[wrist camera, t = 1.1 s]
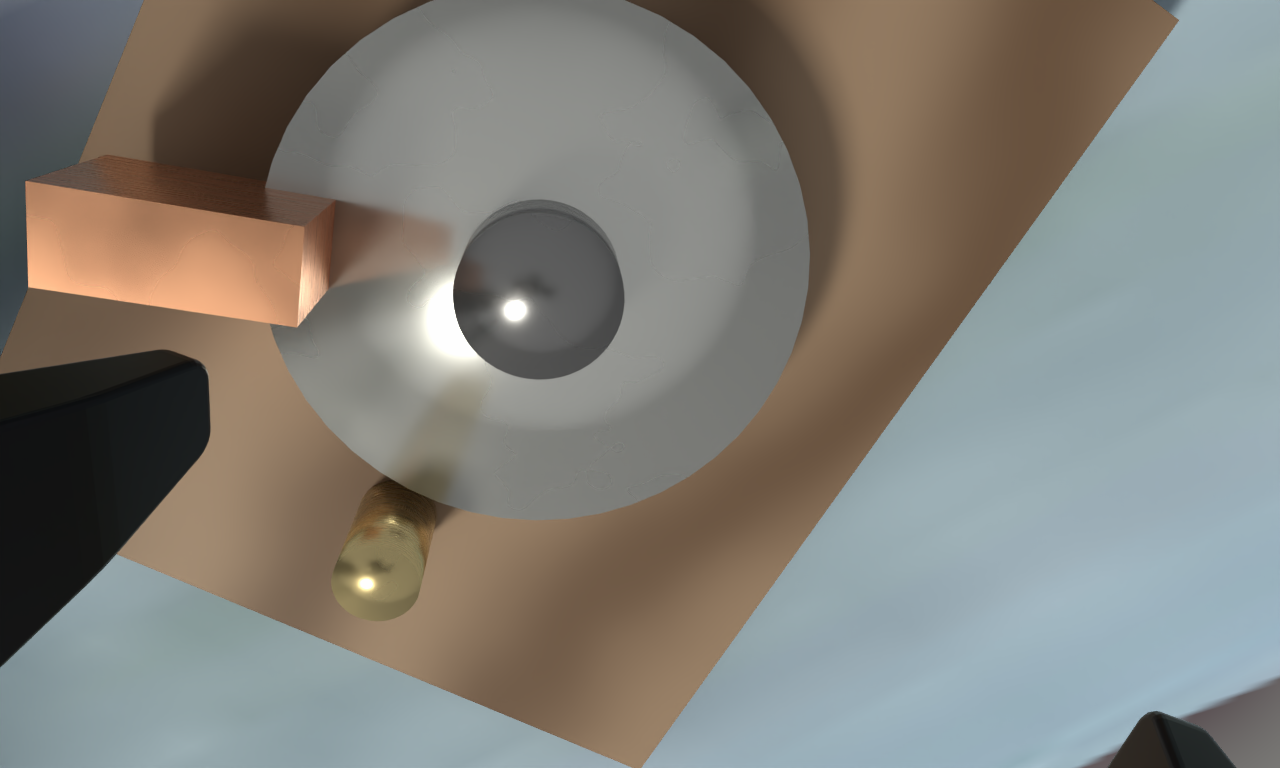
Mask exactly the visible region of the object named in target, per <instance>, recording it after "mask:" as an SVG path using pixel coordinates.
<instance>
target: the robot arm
mask: <svg viewBox="0 0 1280 768" xmlns="http://www.w3.org/2000/svg"><path fill="white" fill-rule="evenodd" d="M210 433H211V422H210V395H209V376H208V371H207V369H206V367H205V365H204V364H202V363H201V362H200V361H198V360H196V359H194V358H191V357H188V356H185V355H183V354H180V353H177V352H174V351H171V350H166V349H159V350H152V351H146V352H139V353H133V354H126V355H120V356H113V357H107V358H100V359H94V360H87V361H81V362H74V363H68V364H61V365H55V366H48V367H42V368H35V369H29V370H22V371H16V372H9V373H3V374H0V667H1V666H2V665H4V664H5V663H6V662H7V661H8V660H9V659H10V658H11V657H12V656H13V655H14V654H15V653H16V652H17V651H18V650H19V649H20V648H21V647H22V646H23V645H25V644H26V643H27V642H28V641H29V640H30V639H31V638H32V637H33V636H34V635H35V634H36V633H37V632H38V631H39V630H40V629H41V628H42V627H43V626H44V625H45V624H47V623H48V622H49V621H50V620H51V619H52V618H53V617H54V616H55V615H56V614H57V613H58V612H59V611H60V610H61V609H62V608H63V607H64V606H65V605H66V604H67V603H69V602H70V601H71V600H72V599H73V598H74V597H75V596H76V595H77V594H78V593H79V592H80V591H81V590H82V589H83V588H84V587H85V586H86V585H87V584H88V583H89V582H90V581H91V580H92V579H93V578H94V577H95V576H96V575H97V574H98V573H99V572H100V571H101V570H102V569H103V568H104V567H105V566H106V565H107V564H108V563H109V562H110V561H111V559H112V558H113V557H114V556H115V555H116V554H117V553H118V552H119V551H120V550H121V549H122V547H123V546H124V545H125V544H126V543H127V542H128V540H129V539H130V538H131V537H132V536H133V535H134V533H135V532H136V531H137V530H138V529H139V528H140V526H141V525H142V524H143V523H144V522H145V521H146V519H147V518H148V517H149V516H150V515H151V514H152V512H153V511H154V510H155V509H156V508H157V507H158V505H159V504H160V503H161V502H162V501H163V500H164V498H165V497H166V496H167V495H168V494H169V493H170V491H171V490H172V489H173V488H174V487H175V486H176V484H177V483H178V482H179V481H180V480H181V479H182V477H183V476H184V475H185V474H186V473H187V472H188V470H189V469H190V468H191V467H192V466H193V465H194V463H195V462H196V461H197V460H198V459H199V458H200V456H201V455H202V453H203V452H204V450H205V448H206V446H207V444H208V441H209V438H210ZM1108 768H1236V767H1235V765H1234V764H1233V763H1232V762H1231V760H1230V759H1229V758H1228V757H1227V756H1226V754H1225V753H1224V752H1223V750H1222V749H1221V748H1220V747H1219V746H1218V744H1217V743H1216V742H1215V741H1214V739H1213V738H1212V737H1211V736H1210V735H1209V734H1208V733H1207V731H1206V730H1204V729H1203V728H1201V727H1199V726H1197V725H1195V724H1192V723H1190V722H1187V721H1184V720H1181V719H1179V718H1176V717H1173V716H1170V715H1168V714H1165V713H1162V712H1159V711H1154V712H1148V713H1147V714H1145V715H1144V716H1143V717H1142V718H1141V719H1140V720H1139V721H1138V723H1137V724H1136V726H1135V727H1134V729H1133V730H1132V732H1131V733H1130V735H1129V736H1128V738H1127V739H1126V741H1125V742H1124V744H1123V745H1122V747H1121V748H1120V750H1119V751H1118V753H1117V754H1116V756H1115V757H1114V759H1113V760H1112V762H1111V763H1110V765H1109V766H1108Z"/></svg>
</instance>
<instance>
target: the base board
mask: <svg viewBox="0 0 1280 768" xmlns="http://www.w3.org/2000/svg"><path fill="white" fill-rule="evenodd" d="M430 1H433V0H144V1H143V4H142V6H141V9H140V11H139V14H138V16H137V19H136V21H135V24H134V26H133V29H132V31H131V34H130V36H129V39H128V41H127V44H126V46H125V49H124V51H123V54H122V56H121V59H120V61H119V64H118V66H117V68H116V71H115V73H114V76H113V78H112V81H111V83H110V86H109V88H108V91H107V93H106V96H105V98H104V101H103V103H102V106H101V108H100V111H99V113H98V116H97V118H96V121H95V123H94V126H93V128H92V131H91V133H90V136H89V138H88V141H87V143H86V146H85V148H84V151H83V153H82V156H81V158H80V160H79V163H82V162H85V161H88V160H91V159H95V158H98V157H101V156H104V155H107V154H109V155H115V156H121V157H127V158H132V159H138V160H144V161H150V162H156V163H162V164H168V165H174V166H180V167H185V168H191V169H197V170H203V171H209V172H215V173H221V174H227V175H233V176H238V177H244V178H250V179H256V180H262V181H267V178H268V175H269V171H270V167H271V164H272V161H273V158H274V156H275V154H276V151H277V149H278V147H279V144H280V142H281V140H282V138H283V135H284V133H285V131H286V128H287V126H288V125H289V123H290V121H291V120H292V118H293V117H294V115H295V113H296V112H297V110H298V109H299V107H300V105H301V104H302V102H303V100H304V99H305V97H306V96H307V94H308V93H309V92H310V91H311V89H312V88H313V87H314V86H315V85H316V84H317V82H318V81H319V80H320V79H321V78H322V76H323V75H324V74H325V73H326V72H327V70H328V69H329V68H330V67H331V66H332V65H333V64H334V63H335V62H336V61H337V60H338V59H340V58H341V57H342V56H343V55H344V54H345V53H346V52H347V51H349V50H350V49H351V48H352V47H353V46H354V45H355V44H356V43H358V42H359V41H360V40H361V39H363V38H364V37H366V36H367V35H369V34H370V33H372V32H373V31H375V30H376V29H378V28H379V27H381V26H382V25H384V24H386V23H387V22H389V21H390V20H392V19H393V18H395V17H397V16H400V15H402V14H404V13H406V12H408V11H410V10H412V9H415V8H417V7H419V6H421V5H423V4H425V3H428V2H430ZM626 1H628V2H630V3H633V4H635V5H637V6H639V7H642V8H644V9H646V10H649V11H651V12H653V13H656V14H658V15H660V16H662V17H664V18H665V19H667V20H668V21H670V22H672V23H673V24H675V25H677V26H678V27H680V28H682V29H683V30H685V31H686V32H688V33H690V34H691V35H693V36H694V37H696V38H697V39H698V40H699V41H701V42H702V43H703V44H704V45H706V46H707V47H708V48H709V49H710V50H712V51H713V52H714V53H715V54H717V55H718V56H719V57H720V58H721V59H723V60H724V61H725V62H726V63H727V64H728V65H729V67H730V68H731V69H732V70H733V71H734V72H735V73H736V74H737V75H738V76H739V77H740V78H741V79H742V81H743V82H744V83H745V84H746V85H747V86H748V87H749V88H750V89H751V91H752V92H753V94H754V95H755V97H756V98H757V99H758V101H759V102H760V104H761V105H762V106H763V108H764V109H765V111H766V112H767V114H768V115H769V116H770V118H771V120H772V121H773V123H774V125H775V127H776V129H777V131H778V133H779V135H780V137H781V139H782V141H783V143H784V145H785V146H786V148H787V150H788V153H789V156H790V158H791V161H792V164H793V167H794V170H795V172H796V175H797V178H798V181H799V184H800V187H801V192H802V197H803V201H804V206H805V211H806V215H807V221H808V234H809V247H810V263H809V281H808V291H807V297H806V302H805V307H804V313H803V318H802V322H801V326H800V329H799V332H798V335H797V338H796V341H795V344H794V347H793V350H792V353H791V355H790V357H789V359H788V361H787V364H786V366H785V368H784V370H783V372H782V374H781V376H780V378H779V380H778V382H777V384H776V386H775V387H774V389H773V390H772V392H771V393H770V395H769V397H768V398H767V400H766V401H765V403H764V404H763V406H762V408H761V409H760V411H759V412H758V413H757V414H756V415H755V417H754V418H753V419H752V420H751V421H750V423H749V424H748V425H747V426H746V427H745V429H744V430H743V431H742V432H741V433H740V435H739V436H738V437H737V438H735V439H734V440H733V441H732V442H731V443H730V444H729V445H728V446H727V447H726V448H725V449H724V450H723V451H722V452H721V453H719V454H718V455H717V456H716V457H715V458H714V459H712V460H711V461H710V462H708V463H707V464H706V465H704V466H703V467H702V468H700V469H699V470H697V471H696V472H695V473H693V474H692V475H691V476H689V477H687V478H686V479H684V480H682V481H680V482H679V483H677V484H675V485H673V486H671V487H670V488H668V489H666V490H664V491H663V492H661V493H658V494H656V495H653V496H651V497H649V498H646V499H644V500H641V501H639V502H637V503H634V504H632V505H629V506H625V507H622V508H618V509H615V510H611V511H608V512H604V513H601V514H595V515H589V516H582V517H576V518H570V519H553V520H524V519H509V518H500V517H494V516H489V515H484V514H478V513H473V512H469V511H465V510H462V509H459V508H456V507H453V506H449V505H446V504H443V503H440V502H437V501H435V500H433V501H434V504H435V506H436V511H437V520H436V525H435V529H434V533H433V537H432V542H431V546H430V550H429V554H428V558H427V563H426V567H425V571H424V575H423V580H422V584H421V588H420V592H419V596H418V598H417V600H416V602H415V603H414V605H413V606H412V607H411V608H410V609H409V610H408V611H407V612H406V613H404V614H403V615H401V616H399V617H397V618H394V619H391V620H386V621H369V620H364V619H361V618H358V617H356V616H354V615H352V614H350V613H349V612H347V611H346V610H345V609H344V608H343V607H342V606H341V605H340V604H339V603H338V601H337V600H336V598H335V596H334V594H333V591H332V586H331V578H332V573H333V570H334V568H335V565H336V563H337V560H338V558H339V555H340V553H341V550H342V548H343V545H344V543H345V540H346V538H347V535H348V533H349V530H350V528H351V525H352V523H353V520H354V518H355V515H356V513H357V510H358V508H359V505H360V503H361V500H362V498H363V497H364V495H365V494H366V492H367V491H368V490H369V489H371V488H372V487H373V486H375V485H377V484H379V483H381V482H384V481H389V480H393V479H391V478H389V477H387V476H386V475H384V474H382V473H381V472H379V471H378V470H376V469H375V468H374V467H372V466H371V465H370V464H369V463H367V462H366V461H365V460H363V459H362V458H361V457H359V456H358V455H357V454H356V453H354V452H353V451H352V450H351V449H350V448H349V447H348V446H347V445H346V444H345V443H344V442H343V441H341V440H340V439H339V438H338V437H337V436H336V435H335V434H334V433H333V432H332V431H331V430H330V429H329V428H328V427H327V425H326V424H325V423H324V422H323V420H322V419H321V418H320V417H319V415H318V414H317V413H316V412H315V410H314V409H313V408H312V407H311V405H310V404H309V403H308V402H307V400H306V399H305V397H304V396H303V394H302V392H301V391H300V389H299V387H298V386H297V384H296V382H295V381H294V379H293V377H292V376H291V374H290V373H289V371H288V369H287V367H286V364H285V362H284V360H283V358H282V355H281V353H280V351H279V349H278V346H277V344H276V342H275V340H274V337H273V333H272V330H271V327H270V323H264V322H258V321H251V320H244V319H238V318H231V317H224V316H218V315H211V314H204V313H198V312H191V311H184V310H178V309H171V308H164V307H158V306H151V305H144V304H138V303H131V302H124V301H118V300H111V299H104V298H98V297H91V296H84V295H78V294H71V293H64V292H58V291H51V290H45V289H38V288H31V287H28V290H27V292H26V295H25V297H24V300H23V302H22V305H21V307H20V310H19V312H18V315H17V317H16V320H15V322H14V325H13V327H12V330H11V332H10V335H9V337H8V339H7V342H6V344H5V347H4V349H3V352H2V354H1V357H0V374H3V373H9V372H16V371H22V370H29V369H35V368H42V367H48V366H55V365H61V364H68V363H74V362H81V361H87V360H94V359H100V358H107V357H113V356H120V355H126V354H133V353H139V352H146V351H152V350H159V349H166V350H171V351H174V352H177V353H180V354H183V355H185V356H188V357H191V358H194V359H196V360H198V361H200V362H201V363H202V364H204V365H205V367H206V369H207V371H208V376H209V395H210V422H211V433H210V438H209V441H208V444H207V446H206V448H205V450H204V452H203V453H202V455H201V456H200V458H199V459H198V460H197V461H196V462H195V463H194V465H193V466H192V467H191V468H190V469H189V470H188V472H187V473H186V474H185V475H184V476H183V477H182V479H181V480H180V481H179V482H178V483H177V484H176V486H175V487H174V488H173V489H172V490H171V491H170V493H169V494H168V495H167V496H166V497H165V498H164V500H163V501H162V502H161V503H160V504H159V505H158V507H157V508H156V509H155V510H154V511H153V512H152V514H151V515H150V516H149V517H148V518H147V519H146V521H145V522H144V523H143V524H142V525H141V526H140V528H139V529H138V530H137V531H136V532H135V533H134V535H133V536H132V537H131V538H130V539H129V540H128V542H127V543H126V544H125V545H124V546H123V547H122V549H121V550H120V551H119V552H118V553H117V554H118V555H120V556H123V557H125V558H127V559H130V560H132V561H135V562H137V563H139V564H142V565H144V566H147V567H149V568H152V569H154V570H156V571H159V572H161V573H164V574H166V575H168V576H171V577H173V578H176V579H178V580H181V581H183V582H185V583H188V584H190V585H193V586H195V587H197V588H200V589H202V590H205V591H207V592H210V593H212V594H214V595H217V596H219V597H222V598H224V599H226V600H229V601H231V602H234V603H236V604H239V605H241V606H243V607H246V608H248V609H251V610H253V611H255V612H258V613H260V614H263V615H265V616H268V617H270V618H272V619H275V620H277V621H280V622H282V623H284V624H287V625H289V626H292V627H294V628H297V629H299V630H301V631H304V632H306V633H309V634H311V635H313V636H316V637H318V638H321V639H323V640H325V641H328V642H330V643H333V644H335V645H338V646H340V647H342V648H345V649H347V650H350V651H352V652H354V653H357V654H359V655H362V656H364V657H367V658H369V659H371V660H374V661H376V662H379V663H381V664H383V665H386V666H388V667H391V668H393V669H396V670H398V671H400V672H403V673H405V674H408V675H410V676H412V677H415V678H417V679H420V680H422V681H425V682H427V683H429V684H432V685H434V686H437V687H439V688H441V689H444V690H446V691H449V692H451V693H454V694H456V695H458V696H461V697H463V698H466V699H468V700H470V701H473V702H475V703H478V704H480V705H483V706H485V707H487V708H490V709H492V710H495V711H497V712H499V713H502V714H504V715H507V716H509V717H512V718H514V719H516V720H519V721H521V722H524V723H526V724H528V725H531V726H533V727H536V728H538V729H540V730H543V731H545V732H548V733H550V734H553V735H555V736H557V737H560V738H562V739H565V740H567V741H569V742H572V743H574V744H577V745H579V746H582V747H584V748H586V749H589V750H591V751H594V752H596V753H598V754H601V755H603V756H606V757H608V758H611V759H613V760H615V761H618V762H620V763H623V764H625V765H627V766H630V767H632V768H641V767H642V766H643V765H644V763H645V762H646V760H647V759H648V758H649V756H650V755H651V753H652V752H653V751H654V749H655V748H656V747H657V745H658V744H659V742H660V741H661V740H662V738H663V737H664V735H665V734H666V733H667V731H668V730H669V728H670V727H671V726H672V724H673V723H674V722H675V720H676V719H677V717H678V716H679V715H680V713H681V712H682V710H683V709H684V708H685V706H686V705H687V703H688V702H689V701H690V699H691V698H692V696H693V695H694V694H695V692H696V691H697V690H698V688H699V687H700V685H701V684H702V683H703V681H704V680H705V678H706V677H707V676H708V674H709V673H710V671H711V670H712V669H713V667H714V666H715V665H716V663H717V662H718V660H719V659H720V658H721V656H722V655H723V653H724V652H725V651H726V649H727V648H728V646H729V645H730V644H731V642H732V641H733V640H734V638H735V637H736V635H737V634H738V633H739V631H740V630H741V628H742V627H743V626H744V624H745V623H746V621H747V620H748V619H749V617H750V616H751V614H752V613H753V612H754V610H755V609H756V608H757V606H758V605H759V603H760V602H761V601H762V599H763V598H764V596H765V595H766V594H767V592H768V591H769V589H770V588H771V587H772V585H773V584H774V583H775V581H776V580H777V578H778V577H779V576H780V574H781V573H782V571H783V570H784V569H785V567H786V566H787V564H788V563H789V562H790V560H791V559H792V558H793V556H794V555H795V553H796V552H797V551H798V549H799V548H800V546H801V545H802V544H803V542H804V541H805V539H806V538H807V537H808V535H809V534H810V533H811V531H812V530H813V528H814V527H815V526H816V524H817V523H818V521H819V520H820V519H821V517H822V516H823V514H824V513H825V512H826V510H827V509H828V507H829V506H830V505H831V503H832V502H833V501H834V499H835V498H836V496H837V495H838V494H839V492H840V491H841V489H842V488H843V487H844V485H845V484H846V482H847V481H848V480H849V478H850V477H851V476H852V474H853V473H854V471H855V470H856V469H857V467H858V466H859V464H860V463H861V462H862V460H863V459H864V457H865V456H866V455H867V453H868V452H869V451H870V449H871V448H872V446H873V445H874V444H875V442H876V441H877V439H878V438H879V437H880V435H881V434H882V432H883V431H884V430H885V428H886V427H887V425H888V424H889V423H890V421H891V420H892V419H893V417H894V416H895V414H896V413H897V412H898V410H899V409H900V407H901V406H902V405H903V403H904V402H905V400H906V399H907V398H908V396H909V395H910V394H911V392H912V391H913V389H914V388H915V387H916V385H917V384H918V382H919V381H920V380H921V378H922V377H923V375H924V374H925V373H926V371H927V370H928V369H929V367H930V366H931V364H932V363H933V362H934V360H935V359H936V357H937V356H938V355H939V353H940V352H941V350H942V349H943V348H944V346H945V345H946V344H947V342H948V341H949V339H950V338H951V337H952V335H953V334H954V332H955V331H956V330H957V328H958V327H959V325H960V324H961V323H962V321H963V320H964V318H965V317H966V316H967V314H968V313H969V312H970V310H971V309H972V307H973V306H974V305H975V303H976V302H977V300H978V299H979V298H980V296H981V295H982V293H983V292H984V291H985V289H986V288H987V287H988V285H989V284H990V282H991V281H992V280H993V278H994V277H995V275H996V274H997V273H998V271H999V270H1000V268H1001V267H1002V266H1003V264H1004V263H1005V262H1006V260H1007V259H1008V257H1009V256H1010V255H1011V253H1012V252H1013V250H1014V249H1015V248H1016V246H1017V245H1018V243H1019V242H1020V241H1021V239H1022V238H1023V236H1024V235H1025V234H1026V232H1027V231H1028V230H1029V228H1030V227H1031V225H1032V224H1033V223H1034V221H1035V220H1036V218H1037V217H1038V216H1039V214H1040V213H1041V211H1042V210H1043V209H1044V207H1045V206H1046V205H1047V203H1048V202H1049V200H1050V199H1051V198H1052V196H1053V195H1054V193H1055V192H1056V191H1057V189H1058V188H1059V186H1060V185H1061V184H1062V182H1063V181H1064V180H1065V178H1066V177H1067V175H1068V174H1069V173H1070V171H1071V170H1072V168H1073V167H1074V166H1075V164H1076V163H1077V161H1078V160H1079V159H1080V157H1081V156H1082V155H1083V153H1084V152H1085V150H1086V149H1087V148H1088V146H1089V145H1090V143H1091V142H1092V141H1093V139H1094V138H1095V136H1096V135H1097V134H1098V132H1099V131H1100V129H1101V128H1102V127H1103V125H1104V124H1105V123H1106V121H1107V120H1108V118H1109V117H1110V116H1111V114H1112V113H1113V111H1114V110H1115V109H1116V107H1117V106H1118V104H1119V103H1120V102H1121V100H1122V99H1123V98H1124V96H1125V95H1126V93H1127V92H1128V91H1129V89H1130V88H1131V86H1132V85H1133V84H1134V82H1135V81H1136V79H1137V78H1138V77H1139V75H1140V74H1141V73H1142V71H1143V70H1144V68H1145V67H1146V66H1147V64H1148V63H1149V61H1150V60H1151V59H1152V57H1153V56H1154V54H1155V53H1156V52H1157V50H1158V49H1159V47H1160V46H1161V45H1162V43H1163V42H1164V41H1165V39H1166V38H1167V36H1168V35H1169V34H1170V32H1171V31H1172V29H1173V28H1174V27H1175V25H1176V24H1177V22H1178V21H1179V20H1178V19H1177V18H1175V17H1174V16H1173V15H1171V14H1170V13H1169V12H1167V11H1166V10H1165V9H1163V8H1162V7H1161V6H1160V5H1158V4H1157V3H1156V2H1154V1H1153V0H626ZM79 163H78V164H79Z"/></svg>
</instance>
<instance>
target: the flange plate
mask: <svg viewBox="0 0 1280 768" xmlns="http://www.w3.org/2000/svg"><path fill="white" fill-rule="evenodd" d="M25 187H26V222H27V257H28V287H31V288H38V289H45V290H51V291H58V292H64V293H71V294H78V295H84V296H91V297H98V298H104V299H111V300H118V301H124V302H131V303H138V304H144V305H151V306H158V307H164V308H171V309H178V310H184V311H191V312H198V313H204V314H211V315H218V316H224V317H231V318H238V319H244V320H251V321H258V322H264V323H270V327H271V330H272V333H273V337H274V340H275V342H276V344H277V346H278V349H279V351H280V353H281V355H282V358H283V360H284V362H285V364H286V367H287V369H288V371H289V373H290V374H291V376H292V377H293V379H294V381H295V382H296V384H297V386H298V387H299V389H300V391H301V392H302V394H303V396H304V397H305V399H306V400H307V402H308V403H309V404H310V405H311V407H312V408H313V409H314V410H315V412H316V413H317V414H318V415H319V417H320V418H321V419H322V420H323V422H324V423H325V424H326V425H327V427H328V428H329V429H330V430H331V431H332V432H333V433H334V434H335V435H336V436H337V437H338V438H339V439H340V440H341V441H343V442H344V443H345V444H346V445H347V446H348V447H349V448H350V449H351V450H352V451H353V452H354V453H356V454H357V455H358V456H359V457H361V458H362V459H363V460H365V461H366V462H367V463H369V464H370V465H371V466H372V467H374V468H375V469H376V470H378V471H379V472H381V473H382V474H384V475H386V476H387V477H389V478H391V479H393V480H394V481H396V482H398V483H399V484H401V485H403V486H404V487H406V488H408V489H410V490H412V491H414V492H417V493H419V494H421V495H423V496H426V497H428V498H430V499H433V500H435V501H437V502H440V503H443V504H446V505H449V506H453V507H456V508H459V509H462V510H465V511H469V512H473V513H478V514H484V515H489V516H494V517H500V518H509V519H524V520H553V519H570V518H576V517H582V516H589V515H595V514H601V513H604V512H608V511H611V510H615V509H618V508H622V507H625V506H629V505H632V504H634V503H637V502H639V501H641V500H644V499H646V498H649V497H651V496H653V495H656V494H658V493H661V492H663V491H664V490H666V489H668V488H670V487H671V486H673V485H675V484H677V483H679V482H680V481H682V480H684V479H686V478H687V477H689V476H691V475H692V474H693V473H695V472H696V471H697V470H699V469H700V468H702V467H703V466H704V465H706V464H707V463H708V462H710V461H711V460H712V459H714V458H715V457H716V456H717V455H718V454H719V453H721V452H722V451H723V450H724V449H725V448H726V447H727V446H728V445H729V444H730V443H731V442H732V441H733V440H734V439H735V438H737V437H738V436H739V435H740V433H741V432H742V431H743V430H744V429H745V427H746V426H747V425H748V424H749V423H750V421H751V420H752V419H753V418H754V417H755V415H756V414H757V413H758V412H759V411H760V409H761V408H762V406H763V404H764V403H765V401H766V400H767V398H768V397H769V395H770V393H771V392H772V390H773V389H774V387H775V386H776V384H777V382H778V380H779V378H780V376H781V374H782V372H783V370H784V368H785V366H786V364H787V361H788V359H789V357H790V355H791V353H792V350H793V347H794V344H795V341H796V338H797V335H798V332H799V329H800V326H801V322H802V318H803V313H804V307H805V302H806V297H807V291H808V281H809V263H810V247H809V234H808V221H807V215H806V211H805V206H804V201H803V197H802V192H801V187H800V184H799V181H798V178H797V175H796V172H795V170H794V167H793V164H792V161H791V158H790V156H789V153H788V150H787V148H786V146H785V145H784V143H783V141H782V139H781V137H780V135H779V133H778V131H777V129H776V127H775V125H774V123H773V121H772V120H771V118H770V116H769V115H768V114H767V112H766V111H765V109H764V108H763V106H762V105H761V104H760V102H759V101H758V99H757V98H756V97H755V95H754V94H753V92H752V91H751V89H750V88H749V87H748V86H747V85H746V84H745V83H744V82H743V81H742V79H741V78H740V77H739V76H738V75H737V74H736V73H735V72H734V71H733V70H732V69H731V68H730V67H729V65H728V64H727V63H726V62H725V61H724V60H723V59H721V58H720V57H719V56H718V55H717V54H715V53H714V52H713V51H712V50H710V49H709V48H708V47H707V46H706V45H704V44H703V43H702V42H701V41H699V40H698V39H697V38H696V37H694V36H693V35H691V34H690V33H688V32H686V31H685V30H683V29H682V28H680V27H678V26H677V25H675V24H673V23H672V22H670V21H668V20H667V19H665V18H664V17H662V16H660V15H658V14H656V13H653V12H651V11H649V10H646V9H644V8H642V7H639V6H637V5H635V4H633V3H630V2H628V1H626V0H433V1H430V2H428V3H425V4H423V5H421V6H419V7H417V8H415V9H412V10H410V11H408V12H406V13H404V14H402V15H400V16H397V17H395V18H393V19H392V20H390V21H389V22H387V23H386V24H384V25H382V26H381V27H379V28H378V29H376V30H375V31H373V32H372V33H370V34H369V35H367V36H366V37H364V38H363V39H361V40H360V41H359V42H358V43H356V44H355V45H354V46H353V47H352V48H351V49H350V50H349V51H347V52H346V53H345V54H344V55H343V56H342V57H341V58H340V59H338V60H337V61H336V62H335V63H334V64H333V65H332V66H331V67H330V68H329V69H328V70H327V72H326V73H325V74H324V75H323V76H322V78H321V79H320V80H319V81H318V82H317V84H316V85H315V86H314V87H313V88H312V89H311V91H310V92H309V93H308V94H307V96H306V97H305V99H304V100H303V102H302V104H301V105H300V107H299V109H298V110H297V112H296V113H295V115H294V117H293V118H292V120H291V121H290V123H289V125H288V126H287V128H286V131H285V133H284V135H283V138H282V140H281V142H280V144H279V147H278V149H277V151H276V154H275V156H274V158H273V161H272V164H271V167H270V171H269V175H268V178H267V181H262V180H256V179H250V178H244V177H238V176H233V175H227V174H221V173H215V172H209V171H203V170H197V169H191V168H185V167H180V166H174V165H168V164H162V163H156V162H150V161H144V160H138V159H132V158H127V157H121V156H115V155H109V154H107V155H104V156H101V157H98V158H95V159H91V160H88V161H85V162H82V163H79V164H76V165H73V166H70V167H67V168H64V169H61V170H57V171H54V172H51V173H48V174H45V175H42V176H39V177H36V178H33V179H30V180H27V181H25Z"/></svg>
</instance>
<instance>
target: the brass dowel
mask: <svg viewBox="0 0 1280 768" xmlns="http://www.w3.org/2000/svg"><path fill="white" fill-rule="evenodd" d="M436 520H437V511H436V506H435V504H434V501H433V499H430V498H428V497H426V496H423V495H421V494H419V493H417V492H414V491H412V490H410V489H408V488H406V487H404V486H403V485H401V484H399V483H398V482H396V481H394V480H389V481H384V482H381V483H379V484H377V485H375V486H373V487H372V488H371V489H369V490H368V491H367V492H366V494H365V495H364V497H363V498H362V500H361V503H360V505H359V508H358V510H357V513H356V515H355V518H354V520H353V523H352V525H351V528H350V530H349V533H348V535H347V538H346V540H345V543H344V545H343V548H342V550H341V553H340V555H339V558H338V560H337V563H336V565H335V568H334V570H333V573H332V578H331V586H332V591H333V594H334V596H335V598H336V600H337V601H338V603H339V604H340V605H341V606H342V607H343V608H344V609H345V610H346V611H347V612H349V613H350V614H352V615H354V616H356V617H358V618H361V619H364V620H369V621H386V620H391V619H394V618H397V617H399V616H401V615H403V614H404V613H406V612H407V611H408V610H409V609H410V608H411V607H412V606H413V605H414V603H415V602H416V600H417V598H418V596H419V592H420V588H421V584H422V580H423V575H424V571H425V567H426V563H427V558H428V554H429V550H430V546H431V542H432V537H433V533H434V529H435V525H436Z"/></svg>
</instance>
